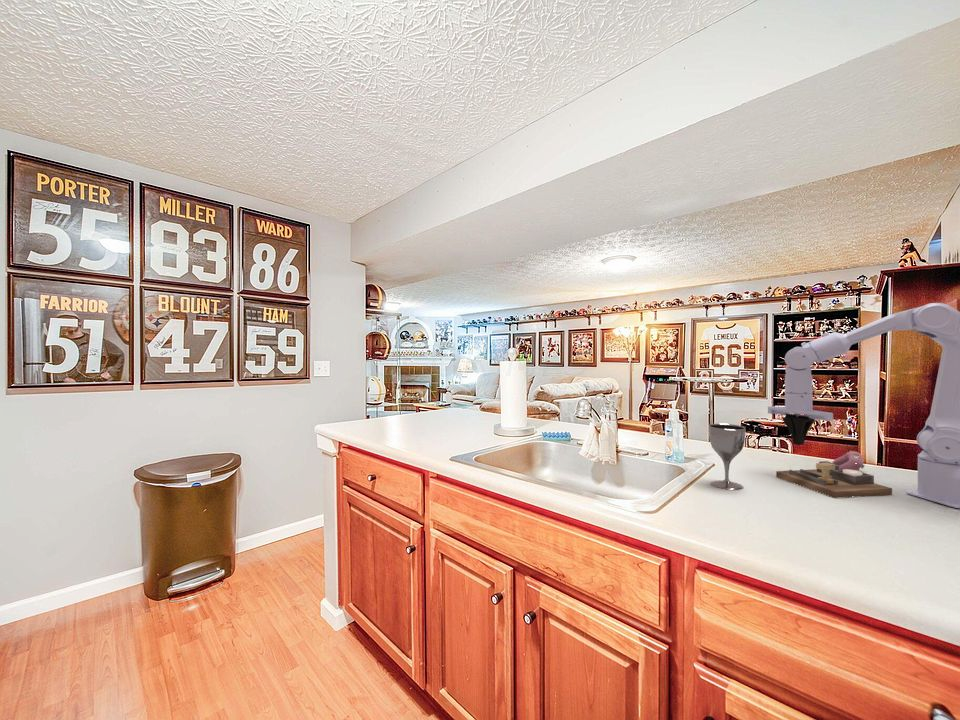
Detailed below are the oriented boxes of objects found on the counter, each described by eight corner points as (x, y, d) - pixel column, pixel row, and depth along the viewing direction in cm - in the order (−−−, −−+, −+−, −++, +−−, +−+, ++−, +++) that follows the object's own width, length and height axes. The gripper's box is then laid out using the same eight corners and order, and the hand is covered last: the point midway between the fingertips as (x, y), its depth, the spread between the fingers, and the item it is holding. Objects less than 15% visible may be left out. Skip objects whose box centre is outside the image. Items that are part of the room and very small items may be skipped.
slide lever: (835, 483, 98) (835, 465, 98) (824, 483, 98) (824, 465, 98) (826, 480, 100) (826, 462, 100) (815, 480, 100) (815, 463, 100)
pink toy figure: (854, 482, 108) (870, 461, 106) (834, 472, 111) (849, 451, 109) (848, 473, 116) (863, 453, 114) (830, 464, 119) (844, 444, 117)
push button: (866, 481, 99) (866, 473, 99) (853, 482, 98) (853, 473, 98) (851, 476, 102) (851, 468, 102) (838, 477, 102) (838, 469, 102)
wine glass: (709, 487, 101) (709, 428, 101) (708, 478, 108) (708, 422, 108) (747, 492, 98) (747, 430, 97) (743, 482, 105) (743, 424, 104)
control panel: (891, 494, 95) (892, 479, 95) (834, 498, 93) (834, 483, 93) (826, 474, 111) (826, 461, 111) (776, 476, 109) (776, 463, 109)
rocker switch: (838, 469, 106) (839, 466, 105) (830, 470, 105) (830, 466, 105) (826, 464, 109) (827, 461, 109) (818, 465, 108) (819, 461, 108)
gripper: (840, 394, 102) (840, 448, 102) (779, 389, 115) (779, 437, 115) (823, 396, 99) (823, 451, 99) (762, 391, 112) (762, 439, 113)
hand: (798, 444), depth 107 cm, fingers closed
